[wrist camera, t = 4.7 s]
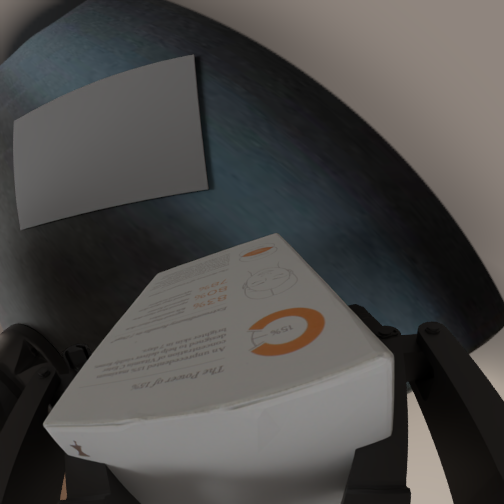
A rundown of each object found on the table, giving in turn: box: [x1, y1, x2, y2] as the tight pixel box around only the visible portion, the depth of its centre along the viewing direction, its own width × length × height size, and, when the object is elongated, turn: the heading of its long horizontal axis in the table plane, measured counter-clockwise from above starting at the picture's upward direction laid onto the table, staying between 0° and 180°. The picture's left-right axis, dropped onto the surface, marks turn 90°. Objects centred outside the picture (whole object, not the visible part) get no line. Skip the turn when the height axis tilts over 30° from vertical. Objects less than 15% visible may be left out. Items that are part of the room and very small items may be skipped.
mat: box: [13, 55, 209, 230], centre depth 23 cm, size 24×14×1 cm, turn 97°
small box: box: [43, 233, 394, 504], centre depth 11 cm, size 8×6×13 cm
